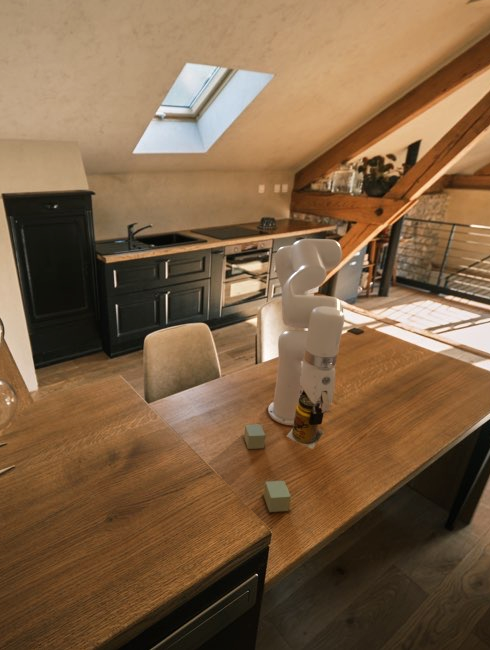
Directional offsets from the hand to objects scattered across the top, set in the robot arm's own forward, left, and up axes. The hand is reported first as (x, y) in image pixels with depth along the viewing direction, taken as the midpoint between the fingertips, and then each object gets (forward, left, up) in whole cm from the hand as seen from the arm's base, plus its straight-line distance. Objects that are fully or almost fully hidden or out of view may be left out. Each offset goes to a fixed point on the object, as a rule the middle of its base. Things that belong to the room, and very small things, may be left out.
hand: (309, 414), depth 100 cm
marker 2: (+10, +10, -20) cm, 24 cm away
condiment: (0, -1, -7) cm, 7 cm away
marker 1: (+10, -12, -20) cm, 26 cm away
